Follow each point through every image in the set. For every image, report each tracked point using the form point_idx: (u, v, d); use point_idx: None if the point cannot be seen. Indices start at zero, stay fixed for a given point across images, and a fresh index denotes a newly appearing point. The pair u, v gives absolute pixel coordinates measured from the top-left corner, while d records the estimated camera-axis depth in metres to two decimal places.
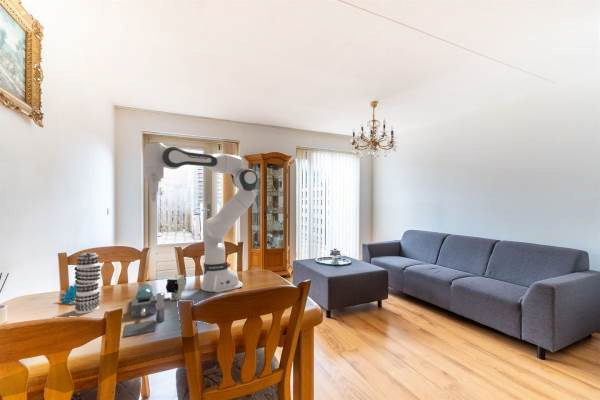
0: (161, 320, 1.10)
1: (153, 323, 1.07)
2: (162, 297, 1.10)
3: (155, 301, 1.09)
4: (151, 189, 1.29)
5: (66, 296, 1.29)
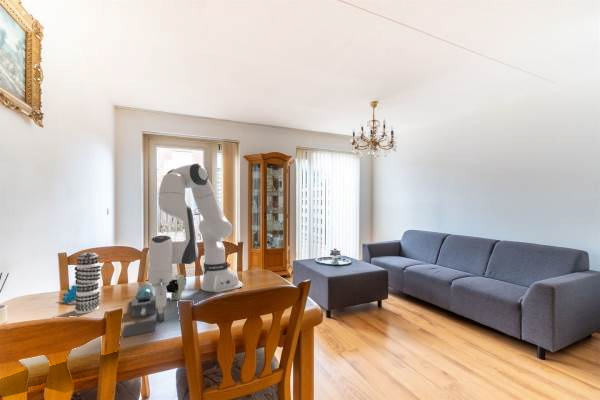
0: (161, 320, 1.10)
1: (153, 323, 1.07)
2: None
3: None
4: (158, 305, 1.01)
5: (67, 296, 1.30)
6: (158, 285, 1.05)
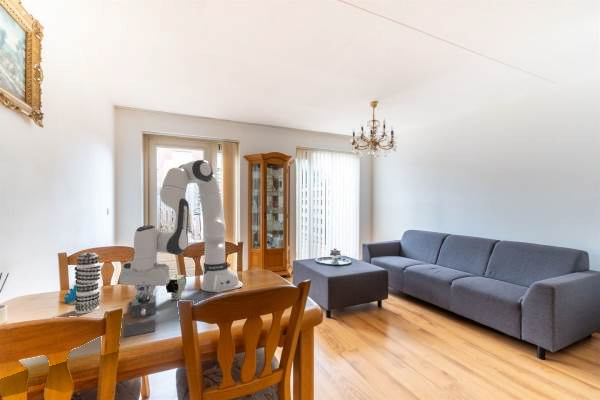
0: None
1: (153, 323, 1.07)
2: None
3: (143, 288, 1.17)
4: (166, 282, 1.17)
5: (69, 295, 1.30)
6: (157, 268, 1.18)
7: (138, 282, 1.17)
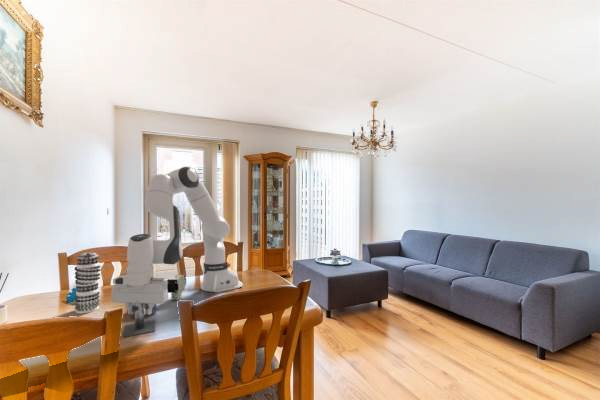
0: (143, 325, 1.04)
1: (153, 323, 1.07)
2: None
3: (137, 307, 1.02)
4: (164, 300, 1.02)
5: (71, 295, 1.31)
6: (154, 283, 1.03)
7: (132, 299, 1.02)
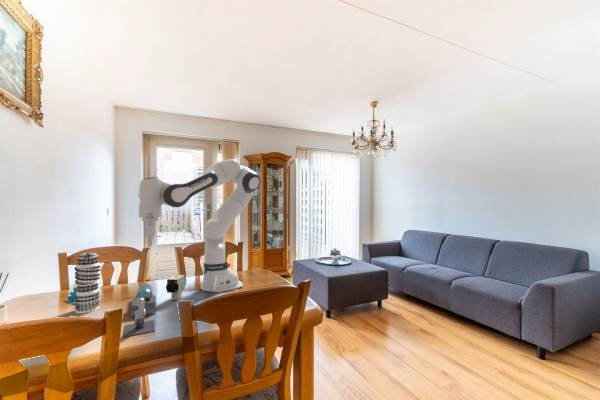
0: (143, 325, 1.04)
1: (153, 323, 1.07)
2: (144, 301, 1.04)
3: (137, 307, 1.02)
4: (147, 233, 1.13)
5: (72, 294, 1.31)
6: (147, 218, 1.16)
7: None
